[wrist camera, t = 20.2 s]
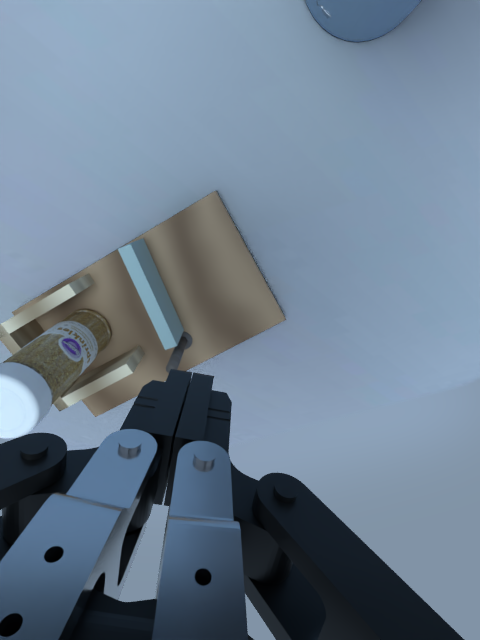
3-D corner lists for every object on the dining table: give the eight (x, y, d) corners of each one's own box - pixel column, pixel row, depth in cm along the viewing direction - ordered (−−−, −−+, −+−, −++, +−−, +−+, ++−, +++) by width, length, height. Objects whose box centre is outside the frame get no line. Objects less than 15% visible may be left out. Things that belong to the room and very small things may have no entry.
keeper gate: (143, 238, 32) (130, 244, 28) (183, 329, 34) (177, 345, 31) (131, 242, 32) (117, 248, 28) (173, 333, 34) (165, 349, 31)
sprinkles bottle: (121, 327, 34) (51, 404, 22) (95, 361, 36) (15, 454, 23) (79, 297, 34) (-20, 361, 21) (54, 333, 35) (-54, 414, 22)
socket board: (216, 190, 32) (209, 190, 25) (284, 315, 35) (294, 345, 28) (19, 308, 35) (-35, 336, 28) (99, 410, 39) (69, 456, 32)
